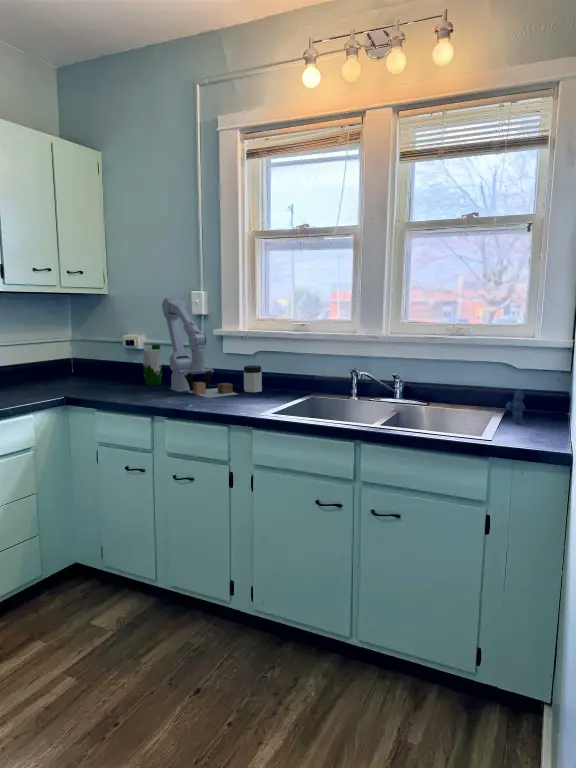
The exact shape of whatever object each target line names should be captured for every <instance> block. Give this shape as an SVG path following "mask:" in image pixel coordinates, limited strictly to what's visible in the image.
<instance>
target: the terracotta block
mask: <svg viewBox="0 0 576 768" xmlns="http://www.w3.org/2000/svg"><path fill="white" fill-rule="evenodd" d="M191 391H192V393H191V394H193V395H196V396H200V395H199V394H206V384H205V383H204V381H193V390H191Z"/></svg>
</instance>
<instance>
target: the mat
mask: <svg viewBox="0 0 576 768" xmlns="http://www.w3.org/2000/svg"><path fill="white" fill-rule="evenodd" d="M187 393H189V394H193V393H192V390H187ZM234 395H238V393H236V392H233V393H226V394H222V393H218V387H216V388H208V389H206V394H199V395H198V396H200V397H203V398H207V399H209V398H210V399H211V398H218V397H219V398H221V397H225V396H234Z"/></svg>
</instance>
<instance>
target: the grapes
mask: <svg viewBox="0 0 576 768" xmlns="http://www.w3.org/2000/svg"><path fill="white" fill-rule="evenodd" d="M524 398H525V392H524V391H523V390H522V389H521V388H519V389H516V390H515V391H514V393H513V399H512V401H508V402H507V403H506V404H505V408H506V409H507V411H511V413H512V415H513V416H512V418H511V419H512V421H513V423H515V424H516V425H518V424H520V423H521V422H522V421H523V417H522V416H523V413H524V412H523V411H524V410H525V409H526V406H525V404H524V402H523V400H524Z"/></svg>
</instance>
